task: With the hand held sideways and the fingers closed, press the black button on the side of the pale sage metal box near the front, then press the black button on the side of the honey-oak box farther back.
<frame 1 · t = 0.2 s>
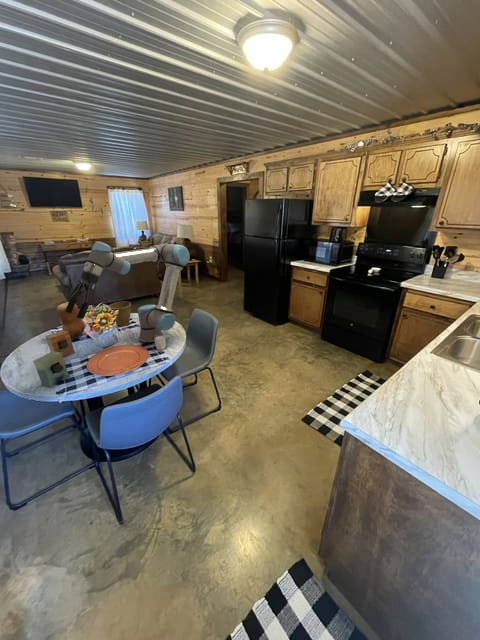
hand: (73, 315, 122), 36 cm above the table, tool tilted 35°, fingers open, 13 cm apart
front button: (56, 368, 131), point 8 cm above the table, slide at 0.1 cm
back button: (63, 344, 153), point 8 cm above the table, slide at 0.1 cm
front housing: (55, 380, 135), on the table
butternut squash: (76, 337, 180), on the table
shot glass: (161, 347, 167), on the table
plant pot: (123, 324, 200), on the table
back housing: (63, 354, 158), on the table
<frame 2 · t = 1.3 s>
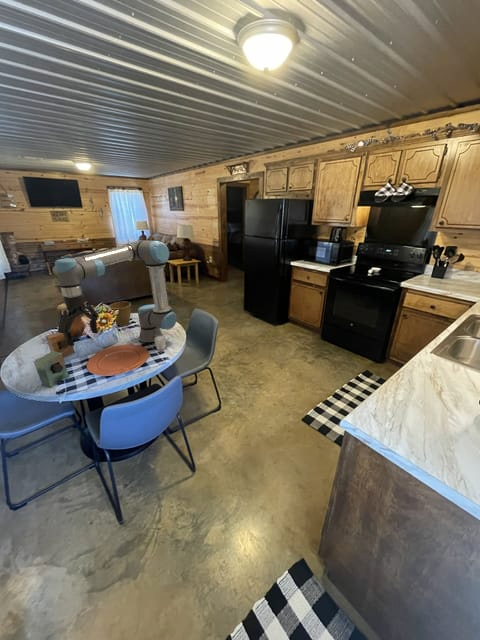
hand: (83, 338, 123), 25 cm above the table, tool pointing down, fingers open, 13 cm apart
nothing on the table moved.
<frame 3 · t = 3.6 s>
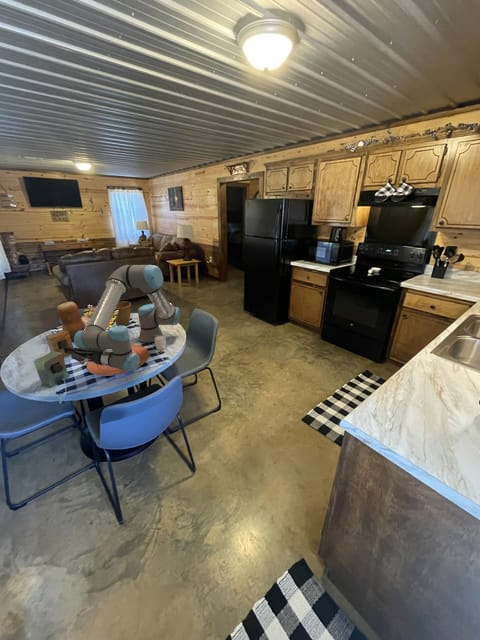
hand: (65, 349, 123), 20 cm above the table, tool horizontal, fingers closed
nothing on the table moved.
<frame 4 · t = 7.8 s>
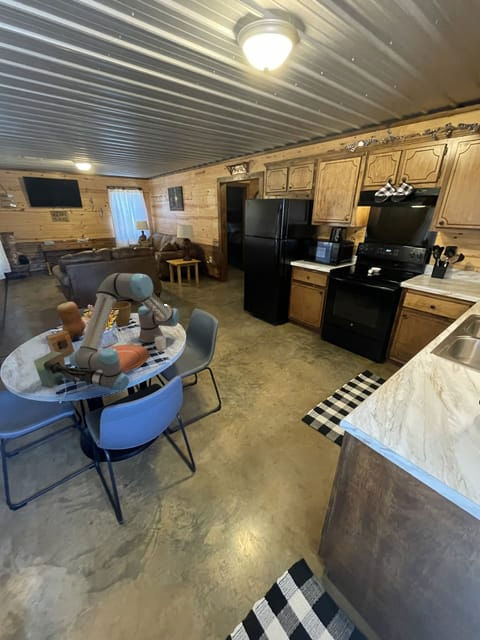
hand: (59, 369, 130), 8 cm above the table, tool horizontal, fingers closed
front button: (56, 368, 131), point 8 cm above the table, slide at -0.3 cm, touching gripper
everything else where it was.
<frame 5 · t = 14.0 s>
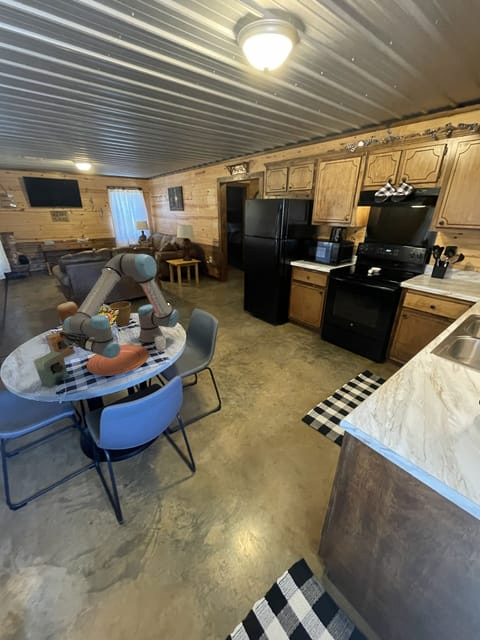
hand: (61, 334, 134), 22 cm above the table, tool horizontal, fingers closed
front button: (57, 368, 131), point 8 cm above the table, slide at 0.1 cm
everything else where it was.
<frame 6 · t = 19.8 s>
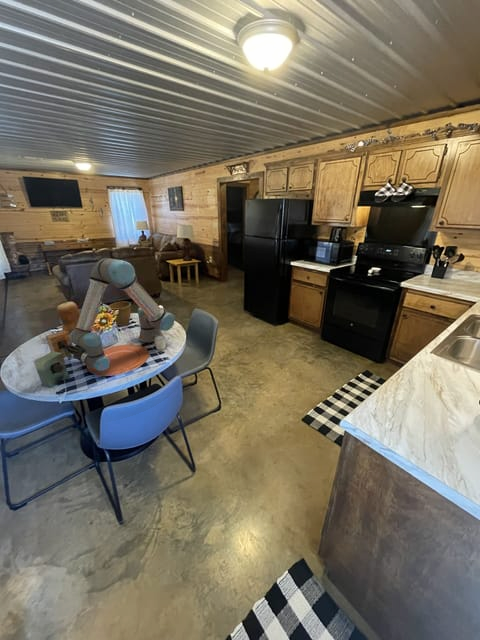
hand: (64, 345, 152), 8 cm above the table, tool horizontal, fingers closed
back button: (63, 344, 153), point 8 cm above the table, slide at -0.1 cm, touching gripper
everything else where it was.
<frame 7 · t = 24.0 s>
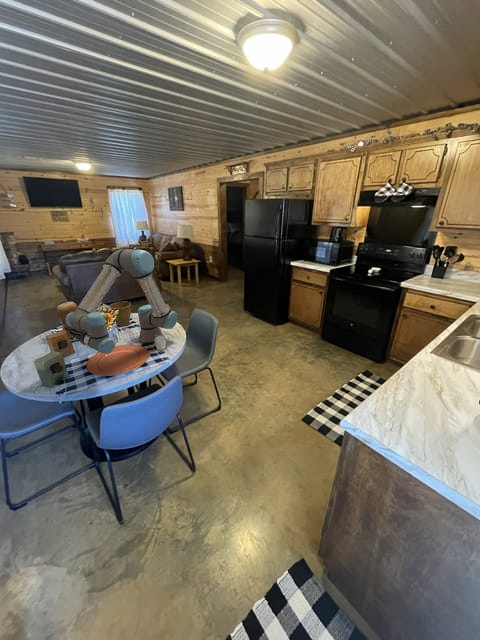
hand: (66, 328, 144), 21 cm above the table, tool horizontal, fingers closed
back button: (63, 344, 153), point 8 cm above the table, slide at 0.1 cm
everything else where it was.
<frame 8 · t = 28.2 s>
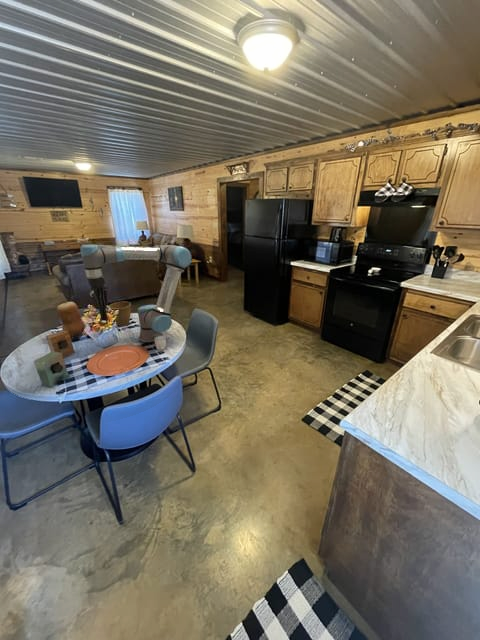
hand: (104, 320, 140), 26 cm above the table, tool pointing down, fingers closed
nothing on the table moved.
at the end: front button pushed in 0.8 cm at the most during the clip, back to where it started at the end; back button pushed in 0.8 cm at the most during the clip, back to where it started at the end; back button slide at 0.1 cm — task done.
